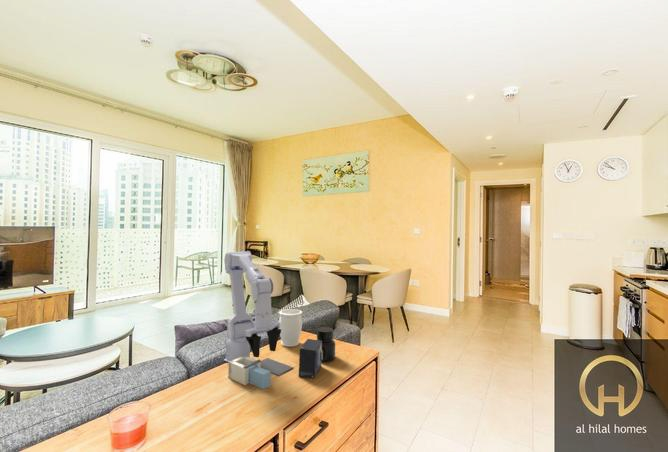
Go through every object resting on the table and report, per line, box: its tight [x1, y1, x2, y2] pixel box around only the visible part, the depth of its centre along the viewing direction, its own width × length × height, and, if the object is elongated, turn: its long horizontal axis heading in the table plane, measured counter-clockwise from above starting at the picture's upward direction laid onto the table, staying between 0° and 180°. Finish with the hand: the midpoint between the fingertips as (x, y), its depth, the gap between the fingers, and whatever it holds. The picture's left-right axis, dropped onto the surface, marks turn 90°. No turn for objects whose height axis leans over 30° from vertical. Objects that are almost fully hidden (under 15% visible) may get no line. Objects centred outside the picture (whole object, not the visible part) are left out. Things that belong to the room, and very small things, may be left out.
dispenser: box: [227, 356, 262, 386], centre depth 114 cm, size 9×7×6 cm
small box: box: [298, 338, 322, 379], centre depth 120 cm, size 11×6×10 cm, turn 168°
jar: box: [278, 308, 303, 348], centre depth 147 cm, size 11×10×15 cm
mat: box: [261, 357, 294, 377], centre depth 123 cm, size 14×8×1 cm, turn 56°
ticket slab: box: [248, 365, 271, 390], centre depth 110 cm, size 10×3×5 cm, turn 55°
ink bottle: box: [316, 326, 336, 363], centre depth 132 cm, size 10×9×12 cm
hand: (264, 353), depth 109 cm, fingers open, 7 cm apart
